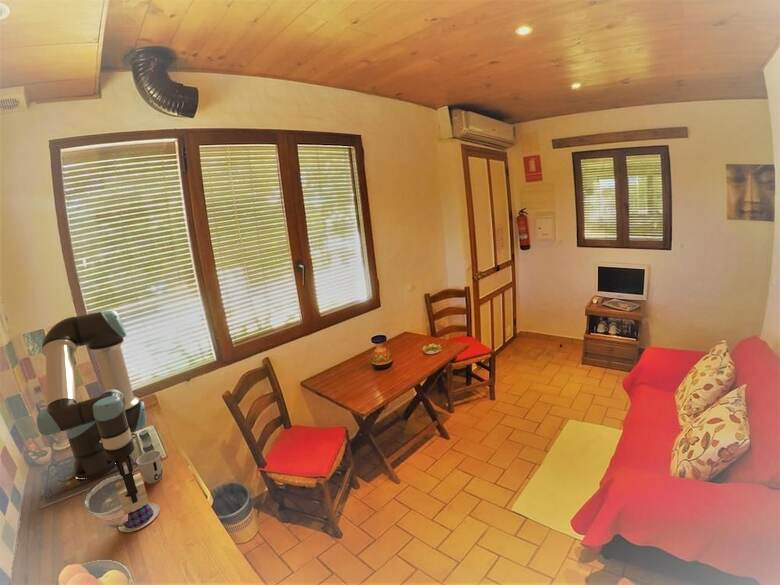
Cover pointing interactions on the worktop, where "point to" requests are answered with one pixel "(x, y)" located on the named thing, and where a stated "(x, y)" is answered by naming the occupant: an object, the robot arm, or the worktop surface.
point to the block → (123, 491)
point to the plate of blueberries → (140, 517)
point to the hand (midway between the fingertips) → (134, 502)
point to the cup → (151, 466)
